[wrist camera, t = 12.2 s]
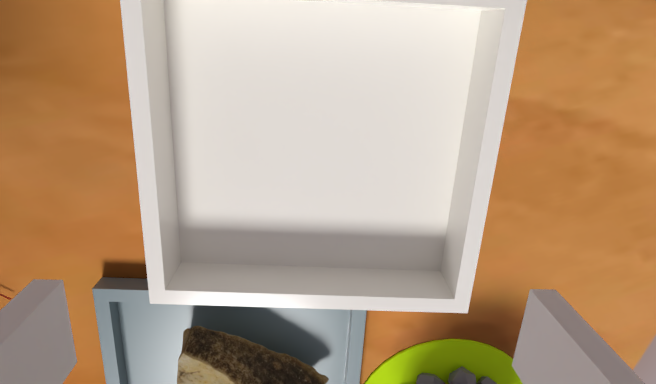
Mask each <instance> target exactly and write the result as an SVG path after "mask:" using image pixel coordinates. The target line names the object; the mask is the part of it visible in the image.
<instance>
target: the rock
mask: <svg viewBox="0 0 656 384" xmlns="http://www.w3.org/2000/svg"><path fill="white" fill-rule="evenodd" d="M328 380H329V379H328V377H327V376H325V375H321V374H319V373H318V372H317V371H316V369H315V368H313V367H311V366H310V365H308V364H305V363H303V362H301V361H300V360H298V359H297V358H295V357H292V356H289V355H287V354H285V353H276V352H275V351H271V350H268V349H267V348H265V347H264V346H262V345H259V344H256V343H253V342H251V341H249V340H246V339H244V338H241V337H239V336H234V335H229V334H227V333H225V332H221V331H214V330H209V329H206V328H204V327H201V326H193V327H192V328H187V329H186V330H184V332H183V345H182V352H181V354H180V356H179V359H178V373H177V384H326V383H327V382H328Z"/></svg>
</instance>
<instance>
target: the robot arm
mask: <svg viewBox="0 0 656 384" xmlns="http://www.w3.org/2000/svg"><path fill="white" fill-rule="evenodd" d="M76 363H77V358H76V353H75V347H74V341H73V335H72V329H71V324H70V318H69V312H68V306H67V301H66V295H65V289H64V283H63V280H36V279H34V280H33V281H31V282H30V283H29V284H28V285H27V286H26V287H25V288H24V289H23V290H22V291H21V292H20V293H19V294H17V295H16V296H15V297H14V298H13V299H12V300H11V301H10V302H9V303H8V304H7V305H6V306H5V307H4V308H2V309H1V310H0V384H62V383H63V382H64V380H65V379H66V377H67V376H68V374H69V373H70V372H71V370H72V369H73V367H74V366H75V364H76ZM512 367H513V368H514V370H515V372H516V373H517V375H518V377H519V378H520V380H521V382H522V383H523V384H645V383H644V382H643V381H642V380H641V379H640V378H639V377H638V376H637V375H636V374H635V372H634V371H633V370H632V369H631V368H630V367H629V366H628V365H627V364H626V363H625V362H624V361H623V360H622V359H621V358H620V357H619V356H618V355H617V354H616V353H615V352H614V350H613V349H612V348H611V347H610V346H609V345H608V344H607V343H606V342H605V341H604V340H603V339H602V338H601V337H600V336H599V335H598V334H597V333H596V332H595V331H594V330H593V328H592V327H591V326H590V325H589V324H588V323H587V322H586V321H585V320H584V319H583V318H582V317H581V316H580V315H579V314H578V313H577V312H576V311H575V310H574V309H573V308H572V306H571V305H570V304H569V303H568V302H567V301H566V300H565V299H564V298H563V297H562V296H561V295H560V294H559V293H558V292H557V291H556V290H542V289H530V292H529V296H528V300H527V304H526V308H525V313H524V317H523V321H522V325H521V329H520V333H519V337H518V342H517V346H516V350H515V354H514V358H513V362H512Z"/></svg>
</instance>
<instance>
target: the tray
mask: <svg viewBox="0 0 656 384" xmlns="http://www.w3.org/2000/svg"><path fill="white" fill-rule="evenodd" d="M92 290H93V297H94V304H95V311H96V317H97V324H98V331H99V338H100V344H101V351H102V358H103V365H104V372H105V378H106V384H177V373H178V359H179V356H180V354H181V352H182V345H183V332H184V330H186V329H187V328H192V327H193V326H201V327H204V328H206V329H209V330H214V331H221V332H225V333H227V334H229V335H234V336H239V337H241V338H244V339H246V340H249V341H251V342H253V343H256V344H259V345H262V346H264V347H265V348H267V349H268V350H271V351H275V352H276V353H285V354H287V355H289V356H292V357H295V358H297V359H298V360H300V361H301V362H303V363H305V364H308V365H310V366H311V367H313V368H315V369H316V371H317V372H318V373H319V374H321V375H325V376H327V377H328V379H329V380H328V382H327V383H326V384H359V383H360V373H361V362H362V352H363V342H364V331H365V321H366V311H367V310H342V309H309V308H275V307H242V306H209V305H175V304H150V301H149V290H148V280H147V279H141V278H110V277H102V278H101V279H100V280H99V281H98V283H97V284H96V285H95V286H94V287H93V288H92Z"/></svg>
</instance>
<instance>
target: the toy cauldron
mask: <svg viewBox="0 0 656 384" xmlns="http://www.w3.org/2000/svg"><path fill="white" fill-rule="evenodd" d="M512 362H513V359H512V358H511V357H510V356H508V355H507V354H506V353H504V352H503V351H501V350H499V349H497V348H495V347H492V346H490V345H488V344H485V343H481V342H477V341H473V340H464V339H443V340H433V341H429V342H425V343H421V344H418V345H414V346H412V347H410V348H407V349H405V350H403V351H401V352H398V353H397V354H395V355H394V356H392V357H390V358H389V359H387V360H386V361H384V362H383V363H382V364H381V365H380V366H379V367H378V368H377V369H375V370H374V371H373V372H372V373H371V374H370V376H369V377H368V379H367V380H366V381H365V383H364V384H523V383H522V382H521V380H520V378H519V377H518V375H517V373H516V372H515V370H514V368H513V367H512Z"/></svg>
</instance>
